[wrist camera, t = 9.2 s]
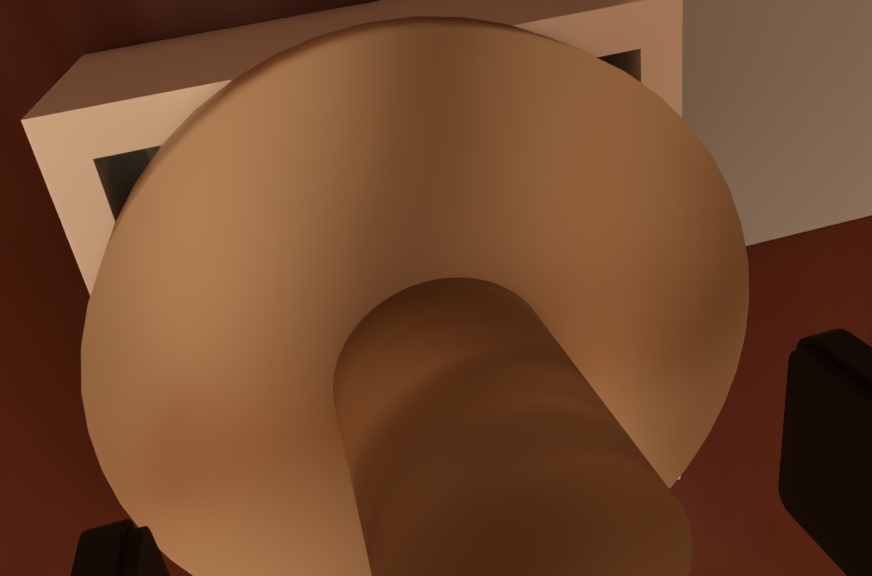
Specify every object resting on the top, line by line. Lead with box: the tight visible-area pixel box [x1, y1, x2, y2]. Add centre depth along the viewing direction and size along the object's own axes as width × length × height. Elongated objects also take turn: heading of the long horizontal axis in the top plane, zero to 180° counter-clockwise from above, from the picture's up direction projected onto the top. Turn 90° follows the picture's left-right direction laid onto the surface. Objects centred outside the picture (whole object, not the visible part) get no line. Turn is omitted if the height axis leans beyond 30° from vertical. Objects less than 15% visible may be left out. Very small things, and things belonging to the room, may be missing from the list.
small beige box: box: [21, 0, 683, 480], centre depth 18 cm, size 11×11×6 cm
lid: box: [81, 16, 749, 576], centre depth 13 cm, size 12×12×6 cm
